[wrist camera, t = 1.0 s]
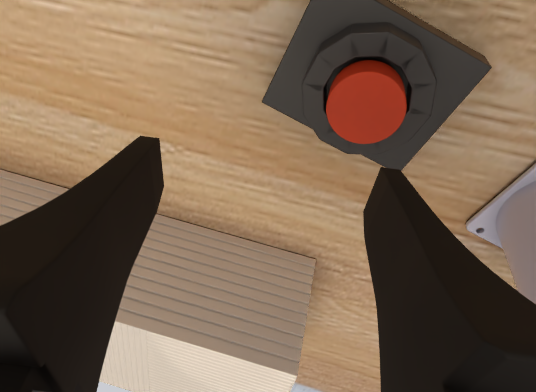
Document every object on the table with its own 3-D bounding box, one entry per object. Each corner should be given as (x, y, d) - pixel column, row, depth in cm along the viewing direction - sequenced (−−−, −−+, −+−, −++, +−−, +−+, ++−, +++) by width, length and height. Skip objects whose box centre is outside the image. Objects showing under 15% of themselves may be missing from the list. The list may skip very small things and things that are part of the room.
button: (420, 82, 20) (424, 96, 19) (376, 140, 23) (376, 156, 21) (353, 45, 20) (352, 56, 18) (316, 108, 22) (312, 122, 21)
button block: (485, 56, 22) (500, 80, 19) (397, 160, 27) (399, 190, 24) (327, -35, 21) (320, -23, 18) (267, 91, 26) (254, 115, 23)
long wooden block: (316, 259, 34) (297, 376, 26) (290, 324, 41) (269, 434, 33) (-20, 163, 36) (-139, 245, 28) (9, 241, 43) (-79, 325, 34)
